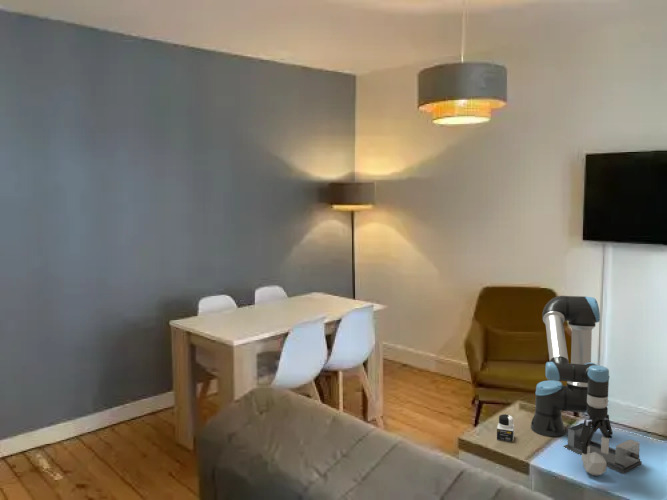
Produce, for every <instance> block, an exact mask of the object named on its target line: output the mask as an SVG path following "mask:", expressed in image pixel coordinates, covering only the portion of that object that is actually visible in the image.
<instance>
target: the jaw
mask: <svg viewBox="0 0 667 500" xmlns="http://www.w3.org/2000/svg"><path fill="white" fill-rule="evenodd" d="M640 444H641V443H640V442H639V441H635V440H633V439H628V440H626V441H623V442H621V443H619V444H617V445H615V449H616V453H615V464H618V465H620V466H623V467H624V468H626V467H628V466H630V465H632V464H634V463H636V462H638V461H639V459H640V447H641V446H640Z"/></svg>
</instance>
